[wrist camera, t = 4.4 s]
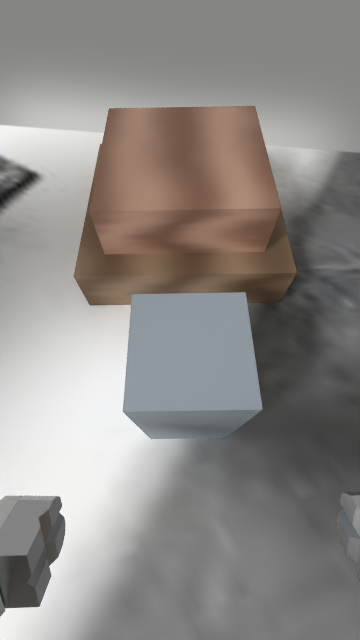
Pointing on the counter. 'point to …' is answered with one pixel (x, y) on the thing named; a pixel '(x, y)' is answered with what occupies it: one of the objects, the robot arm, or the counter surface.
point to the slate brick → (190, 365)
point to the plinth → (183, 208)
